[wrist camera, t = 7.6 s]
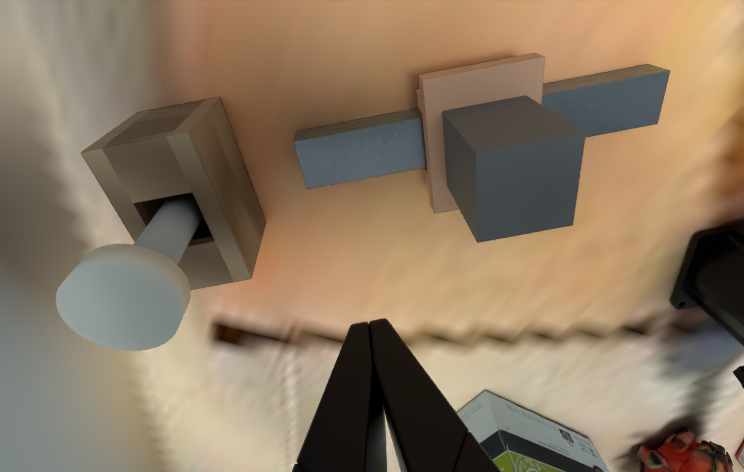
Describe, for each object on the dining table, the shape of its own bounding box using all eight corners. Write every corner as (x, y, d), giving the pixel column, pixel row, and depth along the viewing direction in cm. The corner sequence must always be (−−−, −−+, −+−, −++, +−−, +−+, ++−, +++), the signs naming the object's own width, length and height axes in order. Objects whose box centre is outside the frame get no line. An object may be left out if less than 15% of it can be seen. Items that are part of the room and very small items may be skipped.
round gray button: (239, 224, 19) (197, 340, 13) (170, 237, 19) (95, 358, 13) (212, 158, 17) (147, 258, 11) (135, 173, 17) (29, 280, 11)
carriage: (518, 177, 21) (586, 251, 16) (426, 195, 21) (460, 274, 16) (524, 48, 18) (614, 84, 12) (414, 70, 18) (452, 114, 12)
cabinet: (267, 226, 23) (253, 284, 18) (199, 239, 23) (169, 299, 19) (220, 96, 19) (187, 132, 14) (136, 112, 19) (80, 152, 15)
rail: (637, 115, 21) (657, 124, 20) (308, 176, 21) (307, 189, 20) (648, 64, 19) (670, 70, 18) (295, 131, 20) (293, 141, 19)
